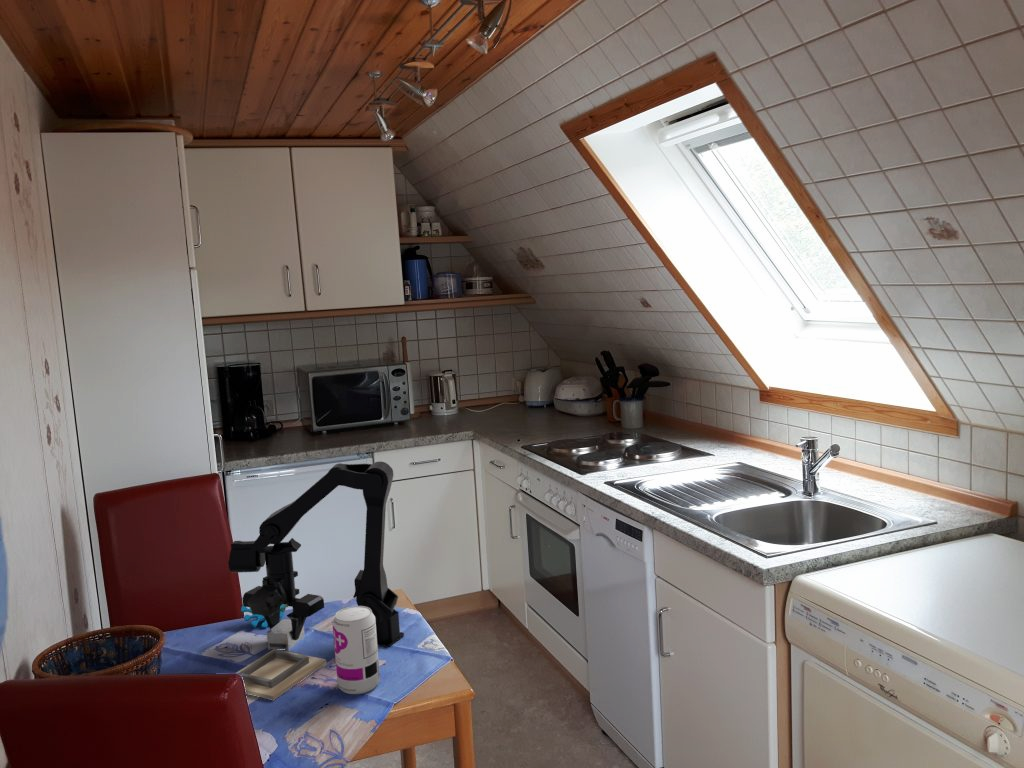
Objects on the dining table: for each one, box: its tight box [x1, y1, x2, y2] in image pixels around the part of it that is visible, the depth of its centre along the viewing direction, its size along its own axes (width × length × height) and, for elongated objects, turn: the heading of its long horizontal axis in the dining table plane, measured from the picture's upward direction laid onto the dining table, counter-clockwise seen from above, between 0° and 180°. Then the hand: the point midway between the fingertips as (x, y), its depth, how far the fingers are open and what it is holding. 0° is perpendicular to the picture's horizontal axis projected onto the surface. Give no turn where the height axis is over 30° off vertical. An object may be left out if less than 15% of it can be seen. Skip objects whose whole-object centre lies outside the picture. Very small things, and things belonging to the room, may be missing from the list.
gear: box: [240, 605, 289, 629], centre depth 197 cm, size 11×6×10 cm
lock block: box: [266, 618, 305, 651], centre depth 184 cm, size 5×7×4 cm
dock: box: [236, 649, 327, 700], centre depth 169 cm, size 14×16×2 cm
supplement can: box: [332, 605, 381, 695], centre depth 162 cm, size 8×8×15 cm
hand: (286, 637), depth 184 cm, fingers closed on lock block, 5 cm apart
